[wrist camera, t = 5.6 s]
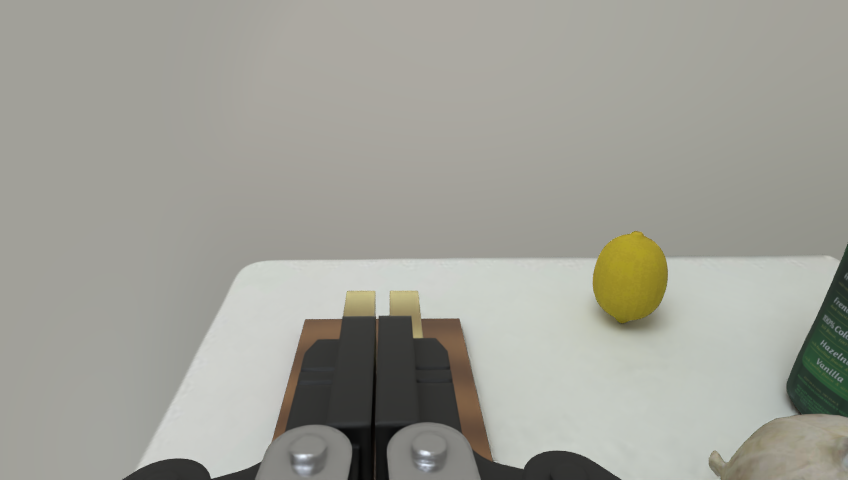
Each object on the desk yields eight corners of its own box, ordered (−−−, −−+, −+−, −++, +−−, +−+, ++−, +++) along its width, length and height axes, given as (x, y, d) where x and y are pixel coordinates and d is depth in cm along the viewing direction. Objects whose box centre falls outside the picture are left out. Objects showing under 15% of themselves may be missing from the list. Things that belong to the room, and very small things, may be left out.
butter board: (530, 646, 22) (543, 556, 20) (219, 660, 21) (203, 567, 19) (458, 329, 44) (462, 272, 42) (305, 330, 43) (302, 272, 42)
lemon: (667, 322, 46) (687, 232, 43) (639, 348, 42) (658, 251, 39) (605, 299, 50) (619, 214, 47) (574, 321, 46) (587, 231, 43)
